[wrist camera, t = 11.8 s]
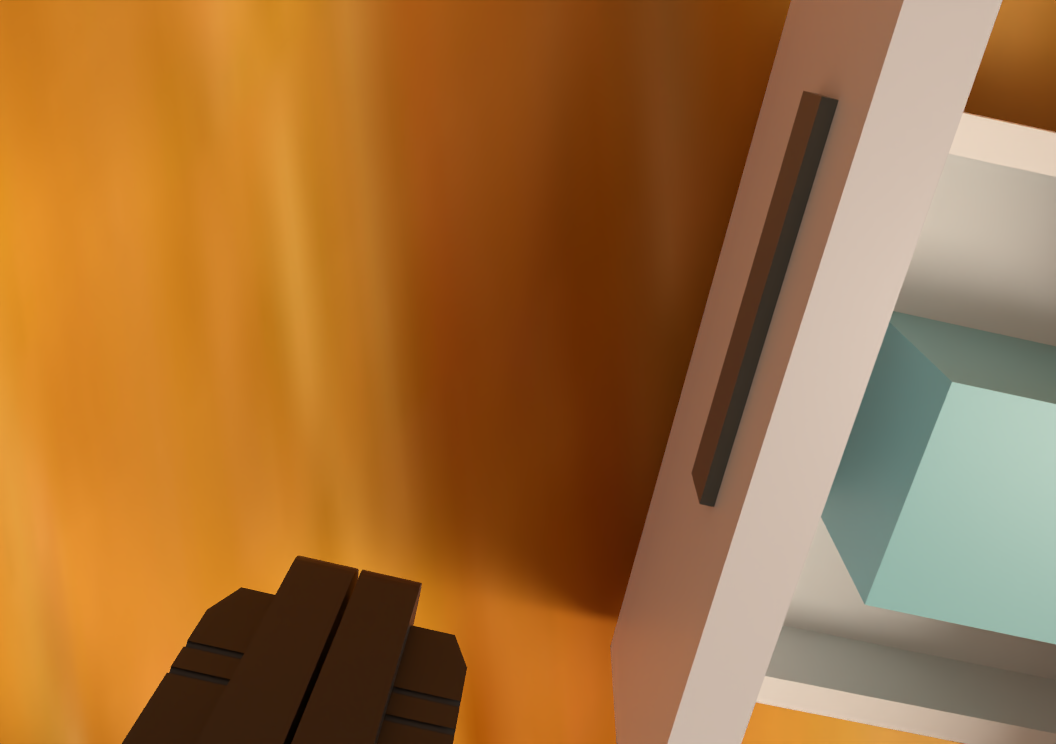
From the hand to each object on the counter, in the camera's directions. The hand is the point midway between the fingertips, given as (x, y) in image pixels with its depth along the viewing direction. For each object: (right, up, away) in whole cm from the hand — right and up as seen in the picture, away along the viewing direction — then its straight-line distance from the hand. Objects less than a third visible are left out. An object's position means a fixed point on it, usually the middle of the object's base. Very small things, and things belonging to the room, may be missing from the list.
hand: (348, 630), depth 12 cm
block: (+13, +2, +12) cm, 18 cm away
